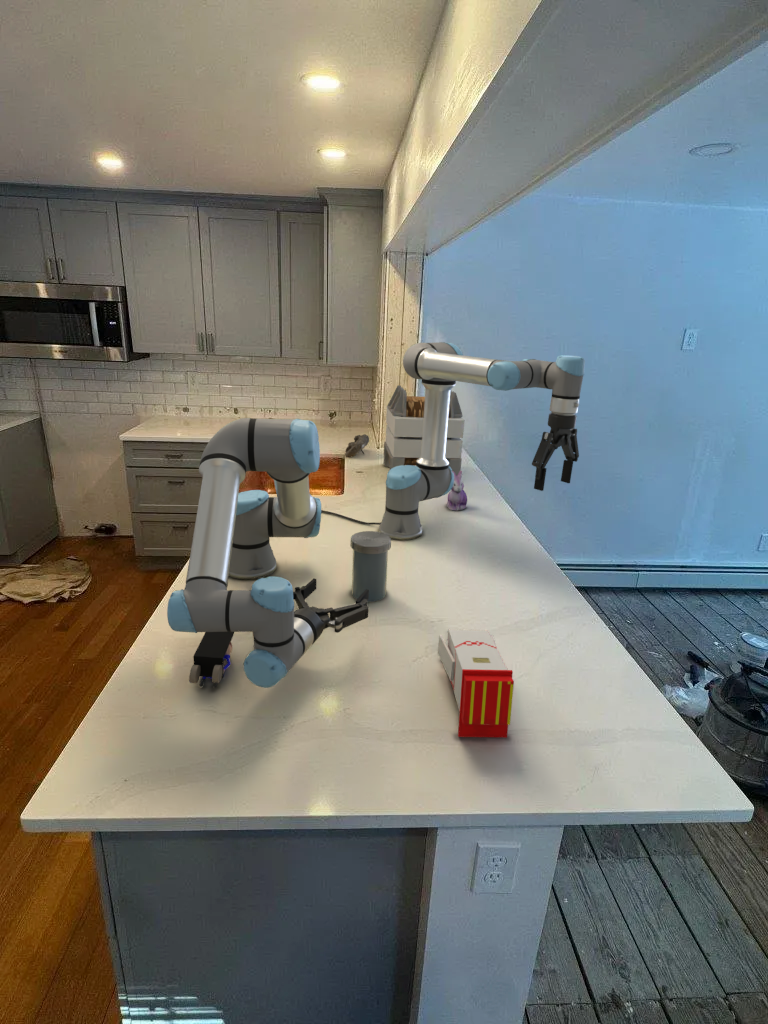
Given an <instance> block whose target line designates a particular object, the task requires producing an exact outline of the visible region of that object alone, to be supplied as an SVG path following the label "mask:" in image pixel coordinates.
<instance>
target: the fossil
mask: <svg viewBox="0 0 768 1024" xmlns="http://www.w3.org/2000/svg"><path fill="white" fill-rule="evenodd" d="M353 440H354V441H350V442H348V444H347V445H348V446H347V447H346V449H345V453H344V455H345V457H346V458H352V457H355V456H356V455H358V454H359V453H361V452H362V454H363V455H364V454H365V453H364V451H363V450H364V449H365V447H367V446H368V444H369V443H370V436H369V435H368V434H365V433H364V434H362V435H361V434H357V435H355V436H354V437H353Z"/></svg>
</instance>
